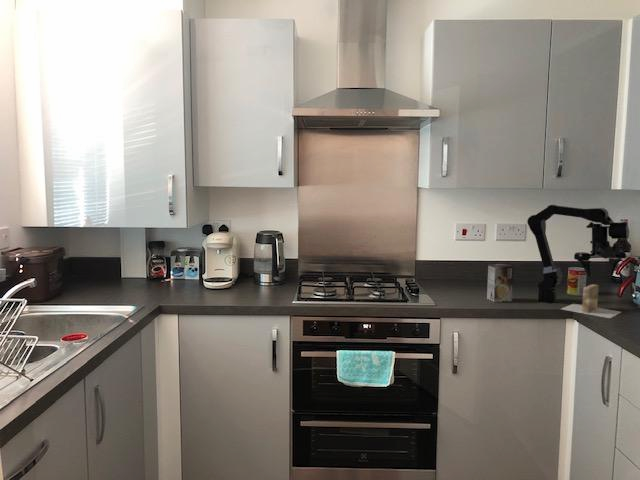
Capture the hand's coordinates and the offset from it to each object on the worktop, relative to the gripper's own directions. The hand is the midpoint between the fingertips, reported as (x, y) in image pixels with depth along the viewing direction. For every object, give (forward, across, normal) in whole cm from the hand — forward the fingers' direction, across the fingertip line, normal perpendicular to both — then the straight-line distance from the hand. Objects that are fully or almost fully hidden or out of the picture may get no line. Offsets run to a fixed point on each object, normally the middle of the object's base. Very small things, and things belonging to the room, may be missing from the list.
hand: (600, 276), depth 217 cm
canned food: (+13, +5, +32) cm, 35 cm away
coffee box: (+12, -36, +17) cm, 42 cm away
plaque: (+14, -6, -2) cm, 15 cm away
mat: (+14, -5, -2) cm, 15 cm away
